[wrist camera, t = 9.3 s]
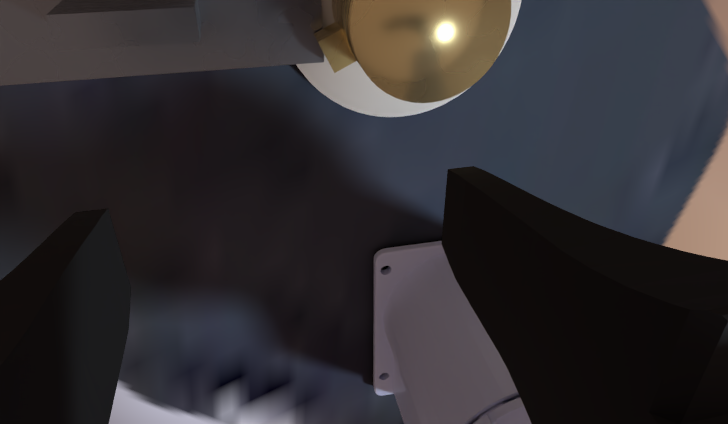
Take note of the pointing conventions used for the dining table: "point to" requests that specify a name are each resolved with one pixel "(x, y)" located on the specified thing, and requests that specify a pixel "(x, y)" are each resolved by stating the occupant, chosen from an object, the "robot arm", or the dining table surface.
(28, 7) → the post base
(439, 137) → the dining table surface
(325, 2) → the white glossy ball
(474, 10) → the cap
